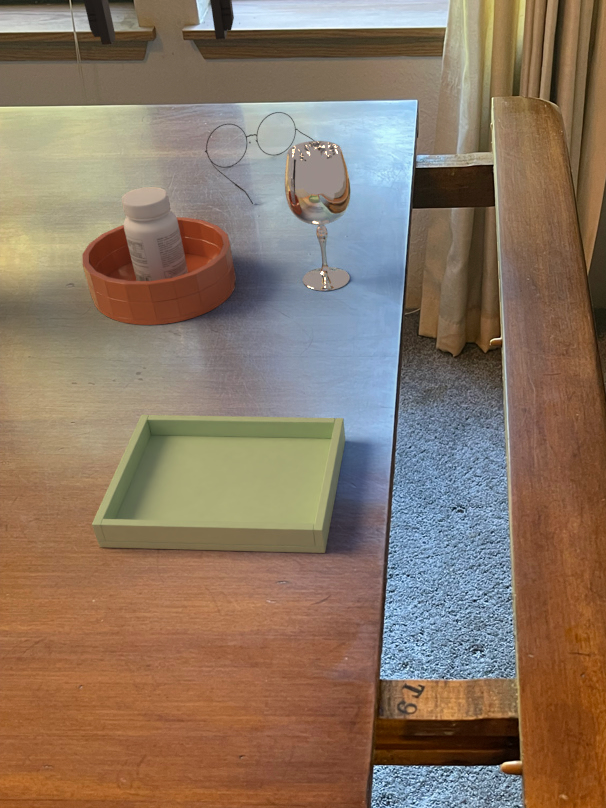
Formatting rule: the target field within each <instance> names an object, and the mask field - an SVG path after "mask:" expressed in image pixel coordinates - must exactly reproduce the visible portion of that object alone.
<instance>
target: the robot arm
mask: <svg viewBox="0 0 606 808" xmlns="http://www.w3.org/2000/svg"><path fill="white" fill-rule="evenodd" d="M209 1H210V7H211V14H212V21H213V28H214V29H213V30H214V37H215V40H217V41H221V40H226V39H227V36H228V35H227V34H228V32H229V31H232V30H233V29H232V28H233V24H234V19H235V15H234V8H233V1H232V0H209ZM83 3H84V8H85V12H86V17H87V21H88V26H89V31H90V32H91V33H92V35H93V37H94V38H96V37H97V38H99V37H100V43H101V44H102V46H113V44H114V43H115V41H116V32H115V27H114V22H113V17H112V12H111V7H110V3H109V0H83Z"/></svg>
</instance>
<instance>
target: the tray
mask: <svg viewBox="0 0 606 808" xmlns="http://www.w3.org/2000/svg"><path fill="white" fill-rule="evenodd" d="M345 444H346V431H345V420H344V418H343V417H305V416H304V417H303V416H300V417H299V416H297V417H296V416H293V417H292V416H245V415H243V416H236V415H235V416H234V415H233V416H231V415H228V416H227V415H179V414H178V415H177V414H176V415H172V414H141V415H140V417H139V419H138V420H137V423H136V425H135V428H134V429H133V432H132V434H131V437H130V439H129V441H128V443H127V446H126V447H125V450H124V452H123V454H122V456H121V459H120V461H119V463H118V466H117V467H116V470H115V472H114V474H113V476H112V479H111V480H110V483H109V485H108V487H107V489H106V491H105V494H104V496H103V498H102V500H101V502H100V505H99V507H98V510H97V511H96V514H95V516H94V518H93V520H92V523H91V527H92V529H93V532H94V536H95V539H96V541H97V544H98V547H99V548H108V549H109V548H112V549H113V548H115V549H149V550H150V549H152V550H153V549H155V550H188V551H189V550H192V551H225V552H226V551H228V552H234V551H235V552H236V551H237V552H264V553H265V552H268V553H269V552H271V553H304V554H305V553H309V554H310V553H312V554H325V553H326V549H327V546H328V545H327V544H328V540H329V534H330V528H331V522H332V516H333V512H334V505H335V499H336V493H337V489H338V483H339V478H340V471H341V466H342V462H343V455H344V451H345Z"/></svg>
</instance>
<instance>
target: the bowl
mask: <svg viewBox="0 0 606 808" xmlns="http://www.w3.org/2000/svg"><path fill="white" fill-rule="evenodd" d="M176 218H177V221H178V225H179V230H180V235H181V240H182V245H183V249H184V254H185V259H186V264H187V269H188V273H187V274H183V275H180V276H177V277H173V278H168V279H161V280H154V281H137V280H136V276H135V272H134V267H133V264H132V260H131V255H130V251H129V247H128V243H127V239H126V235H125V231H124V224H122V225H119V226H117V227H114V228H112V229H109V230H108V231H105V232H103V233H102V234H100V235H99V236H97V237H96V238H94V239H93V240H91V241H90V242H89V243H88V244H87V246H86V247H85V249H84V251H83V252H82V254H81V257H82V259H81V263H82V264H81V265H82V268H83V272H84V274H85V278H86V279H85V280H86V282H87V286H88V289H89V294H90V297H91V300H92V301H93V304H94V306H95V308H96V309H97V310H98V311H99V312H100V313H101V314H102V315H104V316H106V317H107V318H110V319H112V320H114V321H117V322H119V323H120V322H121V323H125V324H131V325H138V326H139V325H141V326H153V325H154V326H158V325H168V324H173V323H178V322H183V321H187V320H191V319H194V318H197V317H199V316H203V315H204V314H207V313H209V312H211V311H213V310H214V309H216V308H218V307H220V306H221V305H222V304H224V303H225V302H226V301H227V300H228V299H229V298H230V296H231V295H232V294H233V292H234V290H235V287H236V279H237V278H236V271H235V265H234V261H233V253H232V248H231V247H232V246H231V242H230V238H229V235H228V233H227V232H226V231H224V230H223V229H222V228H221V227H220V226H218V225H217V224H214V223H212V222H209V221H206V220H204V219H198V218H192V217H187V216H186V217H185V216H184V217H183V216H182V217H180V216H178V217H177V216H176Z"/></svg>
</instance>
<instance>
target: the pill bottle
mask: <svg viewBox="0 0 606 808" xmlns="http://www.w3.org/2000/svg"><path fill="white" fill-rule="evenodd" d="M121 205H122V208H123V213H124V216H125V217H126V218H125V219H124V221H123V225H124V231H125V235H126V239H127V243H128V247H129V251H130V255H131V260H132V264H133V267H134V272H135V276H136V280H137V281H154V280H161V279H168V278H173V277H177V276H180V275H183V274H187V273H188V269H187V264H186V259H185V254H184V249H183V245H182V240H181V235H180V230H179V225H178V221H177V218H176V217H177V215H176V214H175V213H174V212H173V211H172V210H171V202H170V199H169V194H168V192H167V191H166V190H165V189H164V188H161V187H158V186H157V187H155V186H143V187H137V188H135V189H132V190H129V191H127V192H125V193H124V194H123V195H122V197H121Z"/></svg>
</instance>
